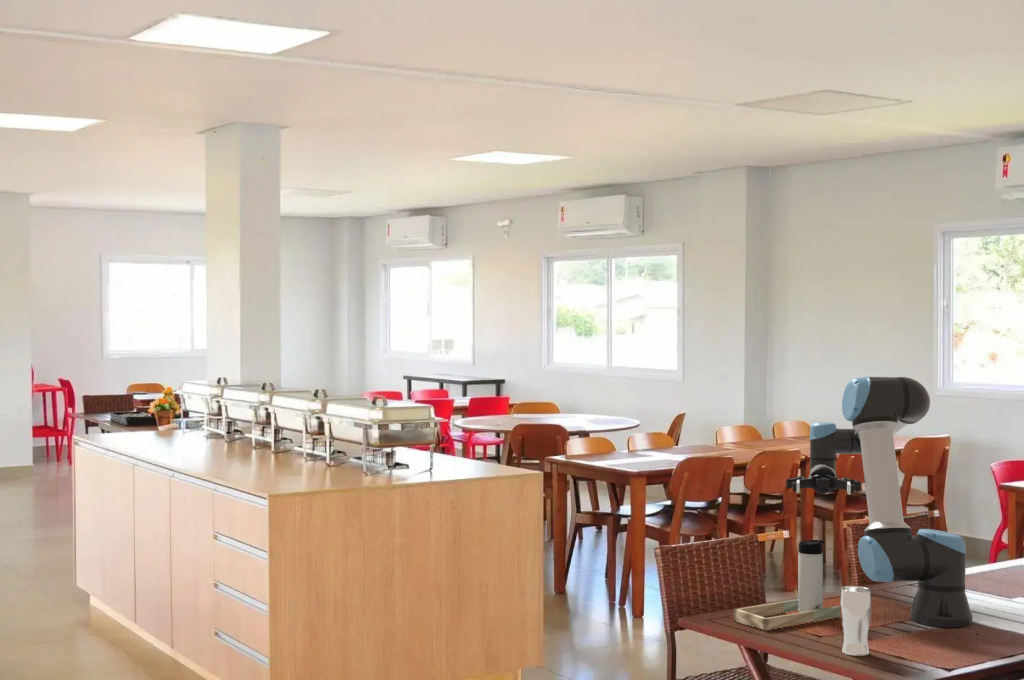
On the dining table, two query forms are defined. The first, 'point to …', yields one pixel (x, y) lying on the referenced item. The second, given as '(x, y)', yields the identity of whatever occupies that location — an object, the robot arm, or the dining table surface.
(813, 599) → the travel mug
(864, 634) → the beer glass
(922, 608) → the robot arm
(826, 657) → the dining table surface
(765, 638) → the dining table surface
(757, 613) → the bay
